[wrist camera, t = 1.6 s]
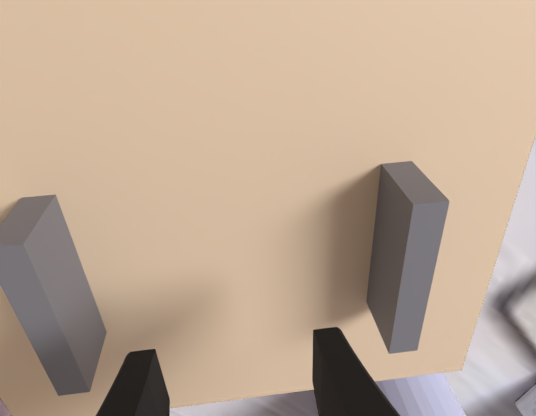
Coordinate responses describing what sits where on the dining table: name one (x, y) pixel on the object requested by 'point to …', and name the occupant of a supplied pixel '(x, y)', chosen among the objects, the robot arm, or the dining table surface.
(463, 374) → the dining table surface
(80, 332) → the lid panel
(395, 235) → the lid panel
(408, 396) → the robot arm
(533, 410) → the white printed box
